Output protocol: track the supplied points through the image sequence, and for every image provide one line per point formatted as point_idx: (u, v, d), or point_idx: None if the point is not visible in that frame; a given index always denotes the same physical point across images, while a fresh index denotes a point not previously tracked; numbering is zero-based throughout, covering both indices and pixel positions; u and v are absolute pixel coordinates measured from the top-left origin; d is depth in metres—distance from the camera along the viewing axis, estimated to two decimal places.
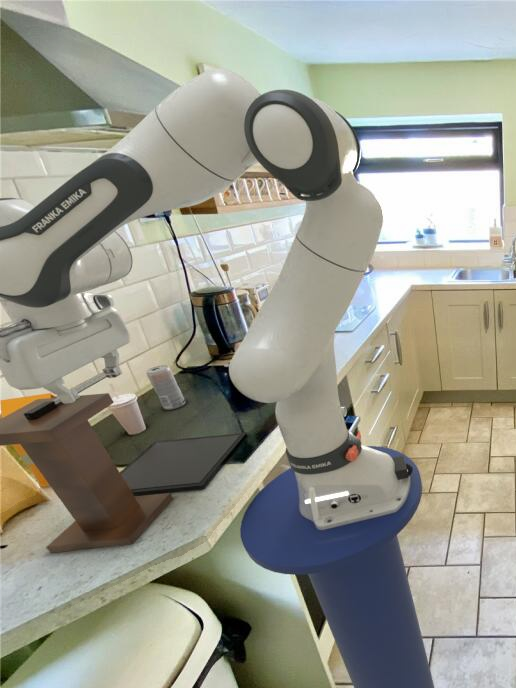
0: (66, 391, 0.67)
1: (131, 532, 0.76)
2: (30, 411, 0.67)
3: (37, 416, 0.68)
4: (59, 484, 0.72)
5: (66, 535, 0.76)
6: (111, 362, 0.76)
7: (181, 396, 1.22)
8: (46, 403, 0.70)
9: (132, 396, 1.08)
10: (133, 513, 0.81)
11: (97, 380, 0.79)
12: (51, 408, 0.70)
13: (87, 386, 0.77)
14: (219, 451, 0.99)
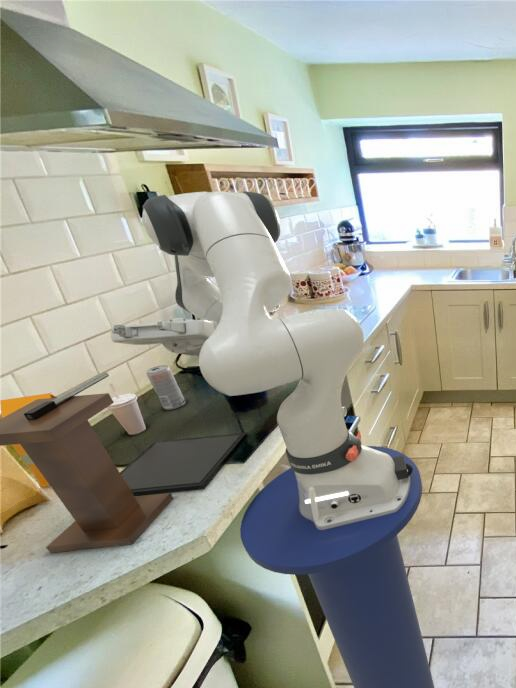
0: None
1: (131, 532, 0.76)
2: (30, 411, 0.67)
3: (37, 416, 0.68)
4: (59, 484, 0.72)
5: (66, 535, 0.76)
6: None
7: (181, 396, 1.22)
8: (46, 403, 0.70)
9: (132, 396, 1.08)
10: (133, 513, 0.81)
11: (97, 380, 0.79)
12: (51, 408, 0.70)
13: (87, 386, 0.77)
14: (219, 451, 0.99)
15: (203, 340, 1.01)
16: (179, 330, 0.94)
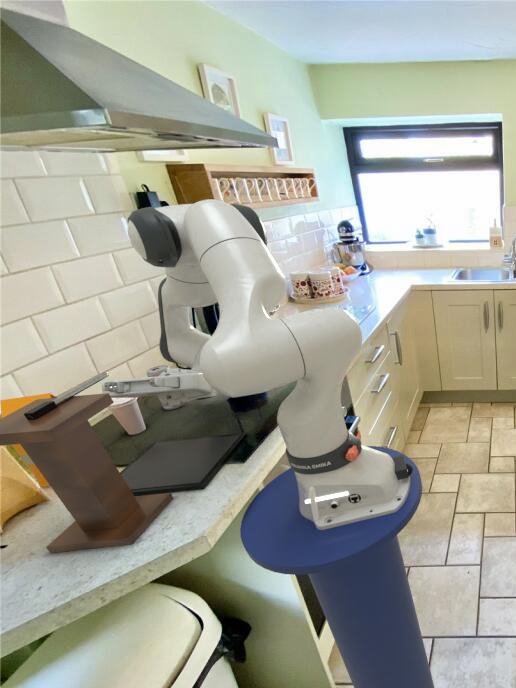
0: None
1: (131, 532, 0.76)
2: (30, 411, 0.67)
3: (37, 416, 0.68)
4: (59, 484, 0.72)
5: (66, 535, 0.76)
6: None
7: None
8: (46, 403, 0.70)
9: None
10: (133, 513, 0.81)
11: (97, 380, 0.79)
12: (51, 408, 0.70)
13: (87, 386, 0.77)
14: (219, 451, 0.99)
15: (198, 392, 0.97)
16: (172, 385, 0.90)
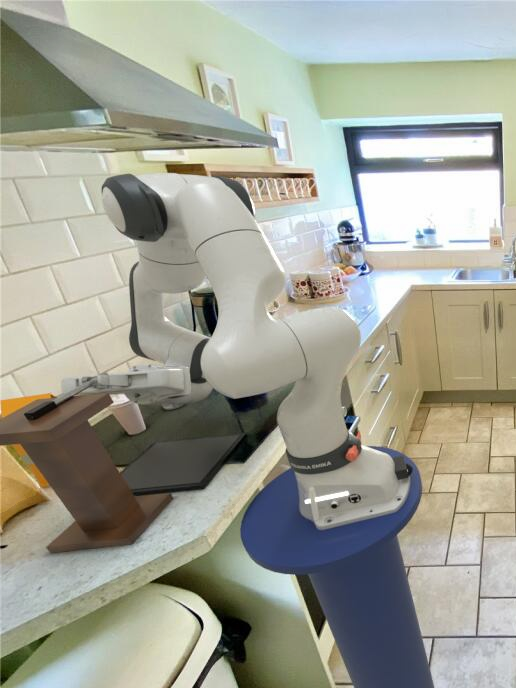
0: None
1: (131, 532, 0.76)
2: (30, 411, 0.67)
3: (37, 416, 0.68)
4: (59, 484, 0.72)
5: (66, 535, 0.76)
6: None
7: None
8: (46, 403, 0.70)
9: None
10: (133, 513, 0.81)
11: None
12: (51, 408, 0.70)
13: (87, 386, 0.77)
14: (219, 451, 0.99)
15: (170, 390, 0.89)
16: (120, 384, 0.81)
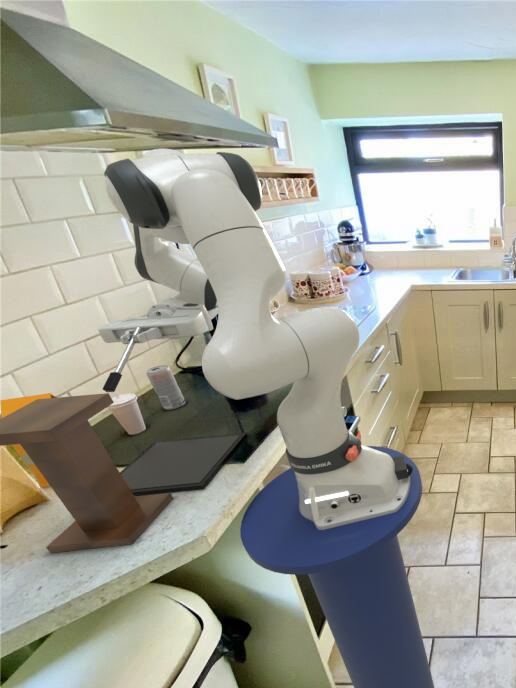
0: (126, 333, 0.89)
1: (131, 532, 0.76)
2: (106, 386, 0.81)
3: (113, 389, 0.82)
4: (59, 484, 0.72)
5: (66, 535, 0.76)
6: None
7: (181, 396, 1.22)
8: (113, 375, 0.83)
9: (132, 396, 1.08)
10: (133, 513, 0.81)
11: None
12: (119, 378, 0.83)
13: (132, 347, 0.87)
14: (219, 451, 0.99)
15: None
16: (156, 337, 0.91)
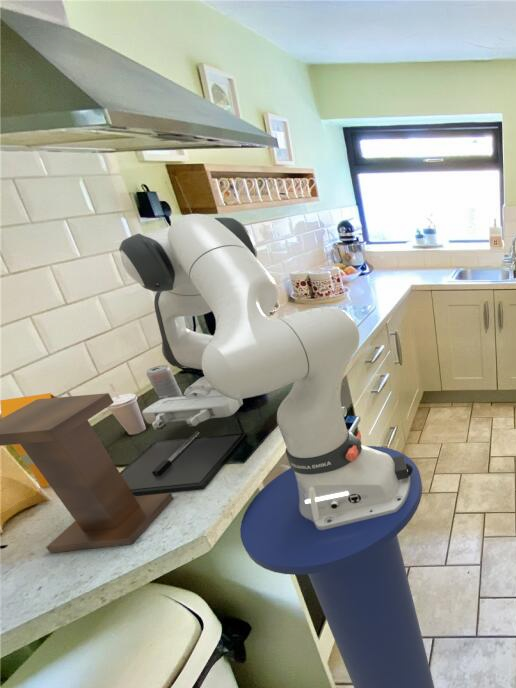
0: (156, 418, 0.99)
1: (131, 532, 0.76)
2: (156, 469, 0.92)
3: (161, 473, 0.92)
4: (59, 484, 0.72)
5: (66, 535, 0.76)
6: None
7: None
8: (164, 462, 0.94)
9: (132, 396, 1.08)
10: (133, 513, 0.81)
11: (193, 439, 1.03)
12: (168, 465, 0.94)
13: (187, 445, 1.01)
14: (219, 451, 0.99)
15: None
16: (206, 418, 1.01)
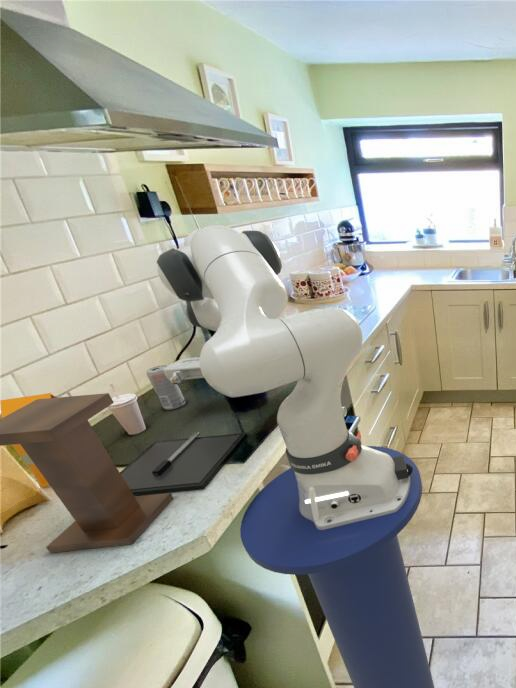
0: (173, 375, 1.06)
1: (131, 532, 0.76)
2: (156, 469, 0.92)
3: (161, 473, 0.92)
4: (59, 484, 0.72)
5: (66, 535, 0.76)
6: None
7: (181, 396, 1.22)
8: (164, 462, 0.94)
9: (132, 396, 1.08)
10: (133, 513, 0.81)
11: (193, 439, 1.03)
12: (168, 465, 0.94)
13: (187, 445, 1.01)
14: (219, 451, 0.99)
15: None
16: None
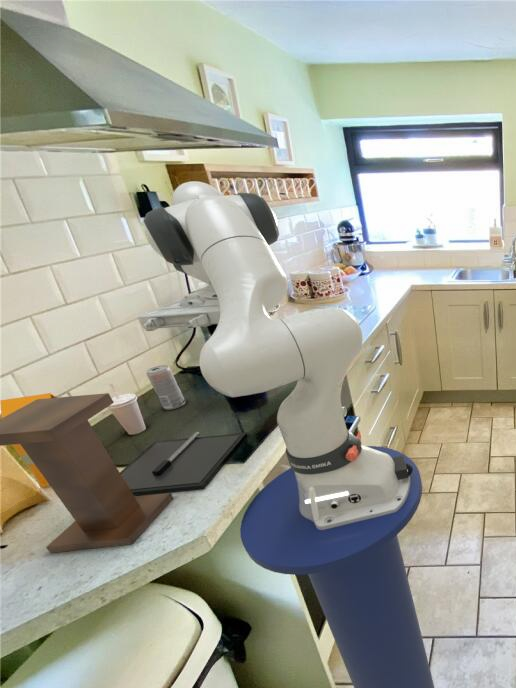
0: (148, 321, 1.00)
1: (131, 532, 0.76)
2: (156, 469, 0.92)
3: (161, 473, 0.92)
4: (59, 484, 0.72)
5: (66, 535, 0.76)
6: None
7: (181, 396, 1.22)
8: (164, 462, 0.94)
9: (132, 396, 1.08)
10: (133, 513, 0.81)
11: (193, 439, 1.03)
12: (168, 465, 0.94)
13: (187, 445, 1.01)
14: (219, 451, 0.99)
15: None
16: (205, 323, 1.02)
